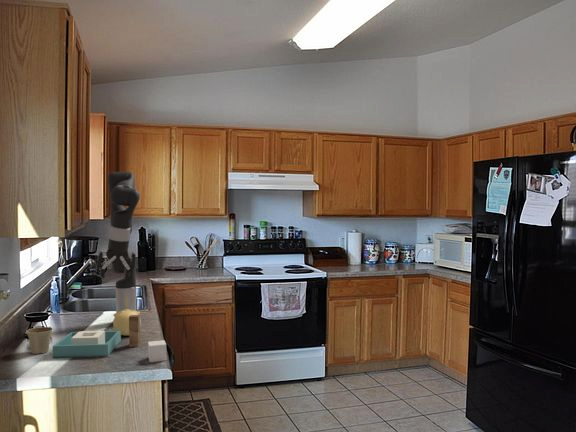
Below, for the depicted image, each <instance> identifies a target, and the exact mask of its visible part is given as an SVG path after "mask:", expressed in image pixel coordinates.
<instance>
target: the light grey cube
mask: <svg viewBox="0 0 576 432" xmlns="http://www.w3.org/2000/svg"><path fill="white" fill-rule="evenodd" d="M147 353H148V354H147V355H148V357H147V358H148V362H149V363H155V362H156V363H157V362H165V361H167V343H166V341H165V340H162V339H161V340H154V341H152V340H151V341H148V342H147Z"/></svg>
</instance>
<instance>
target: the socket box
mask: <svg viewBox="0 0 576 432" xmlns="http://www.w3.org/2000/svg"><path fill="white" fill-rule="evenodd" d="M121 342H122V335H121V331H114V330H110V331H108V330H107V331H106V330H87V331H82V330H81V331H73V332H71V331H70V333H68V334H67V335H66V336H64V337H63V338H61V339H60V340H59V341H58V342H56V343H55V344H54V345H52V359H66V358H67V359H71V358H72V359H73V358H99V357H100V358H101V357H109V356H110V355H111V354H112V353H113V351H114V350H116V348H117V347H118V346H119V344H120V343H121Z"/></svg>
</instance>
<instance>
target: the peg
mask: <svg viewBox="0 0 576 432" xmlns="http://www.w3.org/2000/svg"><path fill="white" fill-rule="evenodd" d="M140 320H141V315H140V314H139V315H130V316H129V335H128V336H129V337H128V339H129V340H128V341H129V342H128V343H129V344H128V346H129V348H131V347H139V346H140V345H141V325H140Z"/></svg>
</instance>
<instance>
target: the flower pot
mask: <svg viewBox="0 0 576 432" xmlns="http://www.w3.org/2000/svg"><path fill="white" fill-rule="evenodd" d="M53 330H54V328H53V327H50V326H40V327H34V328H29V329H27V330H26V331H25V332H26V334H27V337H28V341H29V348H30V353H31V354H34V355H39V354H46V353H47V352H49V351H50V341H51V335H52V333H53Z"/></svg>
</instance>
